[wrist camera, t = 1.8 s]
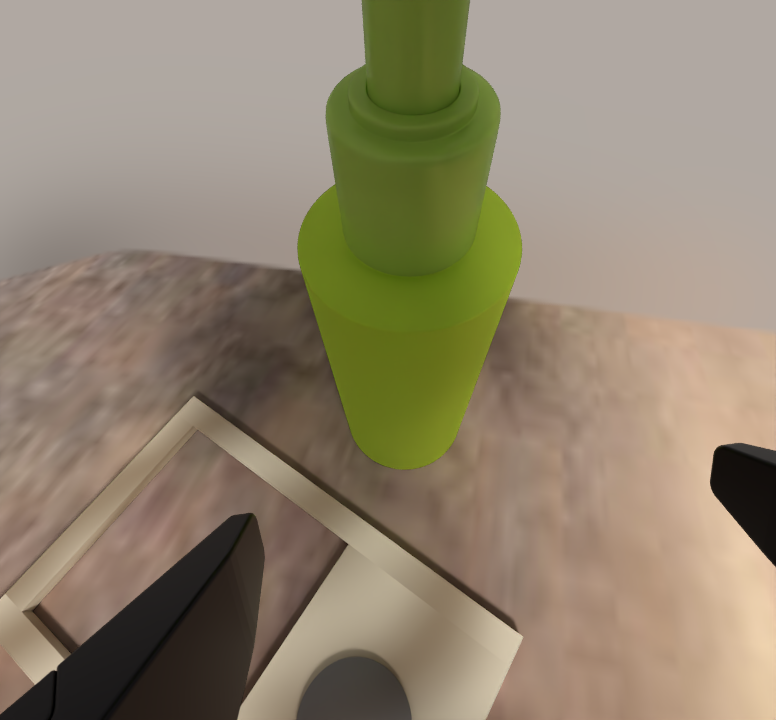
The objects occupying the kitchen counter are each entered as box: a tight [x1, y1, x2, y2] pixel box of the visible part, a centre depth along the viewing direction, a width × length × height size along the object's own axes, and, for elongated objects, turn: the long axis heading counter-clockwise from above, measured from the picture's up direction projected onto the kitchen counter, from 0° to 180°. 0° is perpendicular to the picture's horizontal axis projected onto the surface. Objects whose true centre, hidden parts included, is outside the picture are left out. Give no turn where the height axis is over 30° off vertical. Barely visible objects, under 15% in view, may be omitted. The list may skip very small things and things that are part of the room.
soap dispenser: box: [298, 0, 522, 470], centre depth 14 cm, size 6×7×20 cm
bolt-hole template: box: [0, 396, 523, 720], centre depth 18 cm, size 19×12×1 cm, turn 56°
